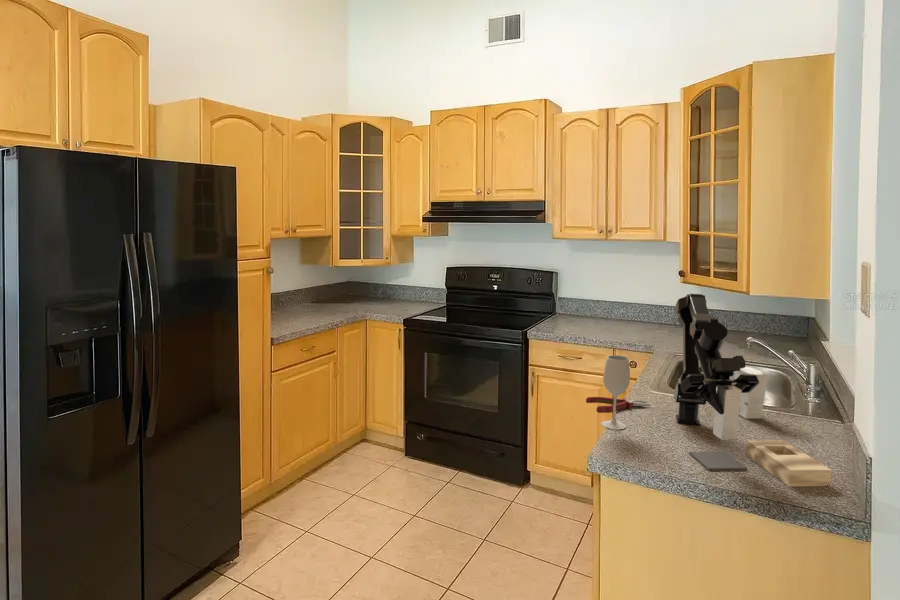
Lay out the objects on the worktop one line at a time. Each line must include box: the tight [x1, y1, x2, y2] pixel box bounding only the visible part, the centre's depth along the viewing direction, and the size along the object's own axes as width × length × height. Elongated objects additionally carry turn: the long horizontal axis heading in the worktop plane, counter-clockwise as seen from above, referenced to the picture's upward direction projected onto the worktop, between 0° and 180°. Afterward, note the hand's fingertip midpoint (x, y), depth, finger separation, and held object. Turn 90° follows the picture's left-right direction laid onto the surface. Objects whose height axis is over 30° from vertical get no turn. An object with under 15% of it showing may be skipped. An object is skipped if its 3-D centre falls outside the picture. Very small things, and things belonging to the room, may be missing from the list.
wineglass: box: [600, 354, 631, 431], centre depth 170 cm, size 8×8×21 cm
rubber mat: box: [688, 451, 748, 471], centre depth 147 cm, size 10×10×1 cm
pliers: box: [585, 396, 652, 414], centre depth 189 cm, size 12×20×3 cm, turn 98°
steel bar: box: [712, 385, 742, 441], centre depth 145 cm, size 4×4×13 cm
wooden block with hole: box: [745, 439, 833, 487], centre depth 143 cm, size 18×10×4 cm, turn 3°
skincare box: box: [734, 366, 769, 420], centre depth 183 cm, size 8×6×15 cm
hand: (730, 413), depth 144 cm, fingers closed on steel bar, 4 cm apart
